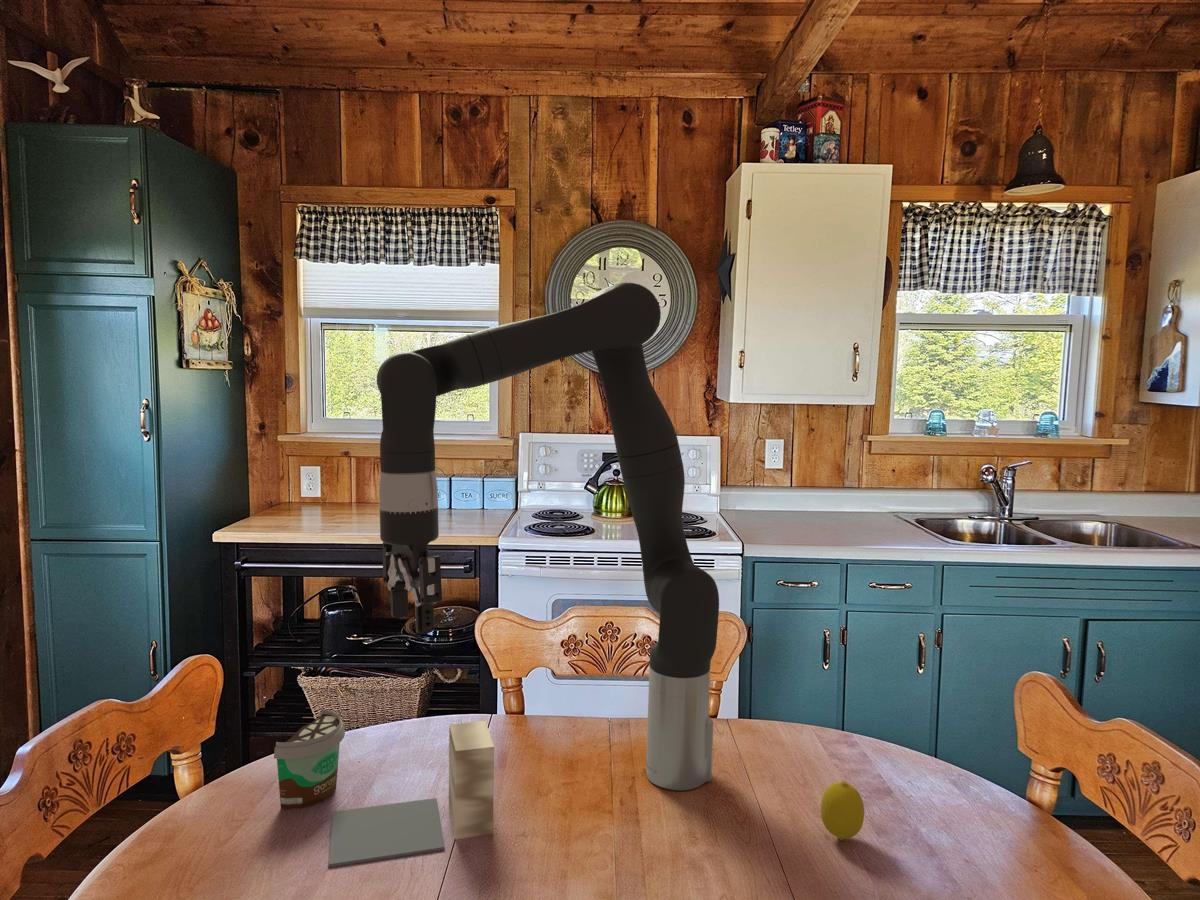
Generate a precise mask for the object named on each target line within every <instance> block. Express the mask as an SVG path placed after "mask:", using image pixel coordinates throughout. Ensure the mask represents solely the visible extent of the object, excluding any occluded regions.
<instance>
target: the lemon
mask: <svg viewBox="0 0 1200 900" xmlns="http://www.w3.org/2000/svg"><path fill="white" fill-rule="evenodd" d="M821 797H822V798H821V802H820V817H821V821H822V823H823V825H824V827H825V829H826V830H827V831H828V833H830V834H831V835H833V836H834V837H836V838H837V839H838V838H839V839H844V840H845V839H850V838H851V839H852V838H853V837H855V836H857V835H858V834H859V832H860V831H861V829H862V827H863V824H864V820H865V806H864V801H863V799H862V796H861V794H860V792H859V791H858V790H857V789H856V787H854V785H852V784H849V783H847V781H843V780H842V781H838V782H834V783H832V784H830V785H829V786H828V787H826V789H825V791H824V793H823V795H822V796H821ZM839 839H838V840H839Z"/></svg>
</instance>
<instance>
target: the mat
mask: <svg viewBox="0 0 1200 900" xmlns="http://www.w3.org/2000/svg"><path fill="white" fill-rule="evenodd" d="M330 829H331V830H330V831H331V832H330V842H329V853H328V868H334V867H340V866H345V865H346V866H348V865H353V864H360V863H367V862H373V861H379V860H387V859H392V858H401V857H405V856H413V855H420V854H427V853H432V852H440V851H445V849H446V847H445V841H444V840H445V839H444V834H443V828H442V822H441V816H440V810H439V805H438V799H437V797H434V798H427V799H418V800H411V801H404V802H403V801H402V802H395V803H388V804H382V805H379V804H378V805H372V806H366V807H358V808H352V809H344V810H343V809H342V810H335V811H332V816H331V827H330Z"/></svg>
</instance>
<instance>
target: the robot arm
mask: <svg viewBox="0 0 1200 900" xmlns="http://www.w3.org/2000/svg"><path fill="white" fill-rule="evenodd" d="M661 315H662V313H661V306H660V303H659V301H658V299H657V297H656V296H655V294H654V293H653V292H652V291H651V290H650V289H648V288H647V287H645V286H644V285H641V284H639V283H634V282H619V283H616V284H613V285H610V286H608V287H604V288H602V289H600V290H597V292H594V293H593V294H592V296H591V297H590V298H589V299H588V300H587V301H584V302H582V303H580V304H576V305H575V306H572V307H569V308H566V309H563V310H560V311H556V312H553V313H550V314H549V313H548V314H545V315H540V316H536V317H532V318H527V319H522V320H520V321H514V322H509V323H504V324H501V325H497V326H492V327H489V328H485V329H482V330H479V331H476V332H475V331H474V332H472V333H471V332H470V333H467V334H464V335H461V336H459V337H458V336H457V337H456V338H453V339H451V340H449V341H447V342H443V343H440V344H436V345H432V346H427V347H423V348H418V349H415V350H414V349H413V350H410V351H405V352H404V351H403V352H400V353H397V354H393V355H391V356H389V357H388V358H386V359H385V360H384V361H383V362H382V363H381V365H380V366H379V369H378V370H377V374H376V385H377V389H378V392H380V400H381V401H380V402H381V418H382V419H381V420H382V431H381V434H380V441H379V458H380V460H379V461H380V462H379V463H380V465H379V467H380V478H379V488H378V492H379V493H378V497H379V498H378V500H379V501H378V502H379V503H378V504H379V531H380V533H379V534H380V536H379V537H380V541H382V580H383V583H384V584H387V589H388V590H389V591H390V614H391V615H390V616H391V617H392V618H394V619H400V618H405V617H407V616H408V615H409V592H411V594H412V597H413V600H414V603H415V606H414V613H415V617H414V618H415V620H414V621H415V632H416V633H417V634H418V635H421V636H422V635H426V634H430V633H433V632H434V630H435V623H434V622H435V620H434V619H435V617H434V615H435V612H434V604H436V603H441V602H442V601H443V594H442V593H443V591H442V590H443V589H442V571H441V568H442V567H441V558H440V555H431V556H430V553H429V546H428V545H429V544H430V543H431V542H435V541H436V540H438V537H439V535H440V532H439V529H440V528H439V492H438V491H439V489H438V481H437V475H436V447H435V446H436V444H435V434H434V430H435V429H434V427H435V421H436V410H437V409H436V408H437V407H436V406H437V397H439V396H443V395H446V394H449V393H451V392H454V391H458V390H466V389H473V388H479V387H481V386H485V385H488V384H491V383H494V382H497V381H501V380H504V379H506V378H510V377H513V376H516V375H519V374H523V373H525V372H527V371H530V370H533V369H535V368H539V367H541V366H545V365H547V364H551V363H554V362H556V361H558V360H562V359H566V358H568V357H572V356H575V355H580V354H584V353H589V352H591V353H592V356H593V359H594V362H595V364H596V367H597V370H598V373H599V376H600V377H599V378H600V380H601V383H602V387H603V391H604V396H605V400H606V406H607V413H608V416H609V421H610V426H611V431H612V435H613V439H614V444H615V445H614V446H615V451H616V452H615V453H616V455H617V459H618V464H619V469H620V475H621V476H622V477H621V478H622V481H623V484H624V488H625V492H626V496H627V499H628V501H627V502H628V503H629V504H628V505H629V508H630V512H631V514H632V515H631V516H632V519H633V521H634V525H635V528H636V532H637V537H638V543H639V549H640V557H641V558H640V559H641V566H642V573H643V583H644V589H645V596H646V597H647V600H648V602H649V604H650V606H651V607H652V609H654V611H655V612H656V613H657V614H659V624H658V639H657V640H658V641H657V642H655V643H654V644H653V645H652V646H651V647H650V650H649V666H648V667H649V668H648V669H649V670H648V698H647V699H648V702H647V704H648V705H647V728H646V729H647V730H646V731H647V732H646V758H645V774H646V775H645V777H646V778H647V779H648V781H650V782H651V783H652V784H654V785H655V786H658V787H659V788H663V789H665V790H670V791H688V790H694V789H697V788H700V787H701V786H703V784H705V783H707V782H711V781H712V775H713V774H712V773H713V772H712V771H713V769H712V768H713V748H714V747H713V745H714V720H713V719H712V718H711V717H710V716H709V711H710V708H709V706H710V686H711V685H710V682H711V681H710V680H711V662H712V658H713V656H714V654H715V651H716V649H717V639H718V627H719V614H720V595H719V590H718V589H719V588H718V586H717V583H716V581H715V579H714V578H713V577H712V575H711V574H710V573H708V572H706V570H704V569H703V568H700V567H699V566H697V565H695V563H694V561H693V558H692V556H691V553H690V549H689V546H688V542H687V539H686V535H685V530H684V524H683V505H684V495H685V485H686V484H685V482H686V481H685V478H686V477H685V469H684V462H683V459H682V452H681V449H680V445H679V444H680V443H679V439H678V436H677V432H676V429H675V427H674V424H673V422H672V420H671V418H670V416H669V414H668V412H667V410H666V408H665V407H664V404H663V403H662V401H661V399H660V397H659V395H658V394H657V392H656V390H655V388H654V386H653V384H652V381H651V378H650V376H649V372H648V368H647V365H646V359H645V354H644V347H643V345H644V344H645V343H646V342H648V341H649V340H650V339H651V338H652V337H654V335H655V334H656V332H657V331H658V328H659V327H660V322H661ZM433 586H434V587H433Z"/></svg>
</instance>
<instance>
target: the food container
mask: <svg viewBox="0 0 1200 900" xmlns="http://www.w3.org/2000/svg"><path fill="white" fill-rule="evenodd" d="M345 735H346V731H345V726H344V723H343V720H342V718H341V716H340V715H339V714H338V713H336V712H335V711H333V710H329V709H326V708H325V709H324V708H321V712H320V716H318V717H317V718H316V719H315V720H313V721H312V722H310V723H307V724H306V725H304V726H302V727H301V728H299V729H298V730H297V731H296V732H295V733H294V734H293V736H291V737H290V738H289V739H288V740H286V741H285V742H279V741H276V742H275V747H274V751H273V752H274V753H273V759H276V766H277V776H278V778H277V779H278V790H279V791H278V792H279V800H280V809H282V810H298V809H299V810H300V809H305V808H311V807H313V806H316V805H318V803H319V804H321V803H324V802H325V801H326V799H327V800H328V799H330V798H331V797H332V796H333V795H334V794H335V792H336V791H337V790H336V789H337V783H338V772H339V771H338V768H339V760H340V759H339V758H340V757H339V756H340V744H341V742H342V740H344V738H345ZM335 790H336V791H335ZM333 793H334V794H333ZM332 794H333V795H332ZM330 796H331V797H330ZM329 797H330V798H329ZM320 802H321V803H320Z"/></svg>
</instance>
